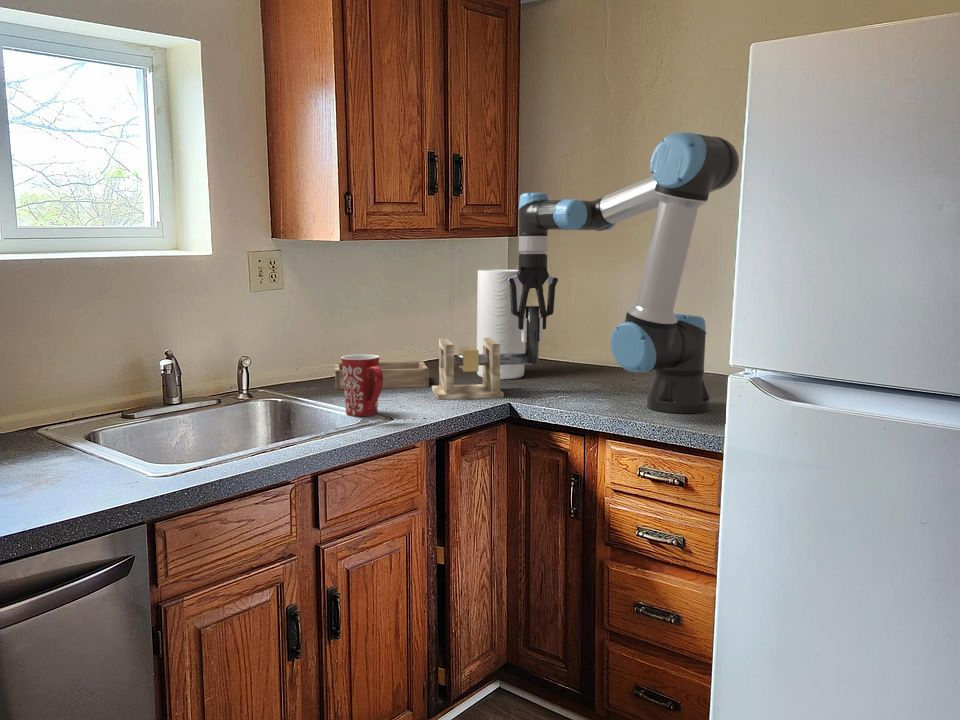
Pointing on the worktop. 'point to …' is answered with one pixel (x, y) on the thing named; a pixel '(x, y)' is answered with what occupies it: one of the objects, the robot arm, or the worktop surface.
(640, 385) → the worktop surface
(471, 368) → the block
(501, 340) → the paper towel roll
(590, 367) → the worktop surface
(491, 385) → the jig
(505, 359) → the shaft
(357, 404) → the mug
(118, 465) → the worktop surface
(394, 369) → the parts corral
